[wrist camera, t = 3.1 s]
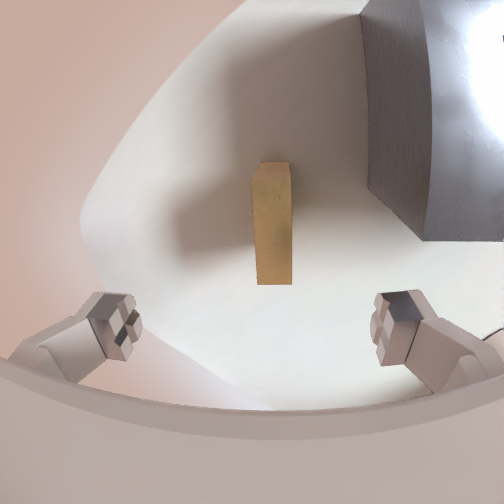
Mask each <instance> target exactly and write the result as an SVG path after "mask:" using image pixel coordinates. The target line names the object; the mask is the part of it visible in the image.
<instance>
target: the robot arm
mask: <svg viewBox="0 0 504 504" xmlns="http://www.w3.org/2000/svg"><path fill="white" fill-rule="evenodd" d="M374 305H375V307H376V309H377V310H376V311H375V312H374V313H373V314H372V317H371V323H370V332H371V338H372V341H373V343H375V344H376V345H377V346H378V347H377V350H376V353H377V356H378V359H379V362H380V365H381V366H390V365H400V364H405V366H406V367H407V368H408V369H409V370H410V371H411V372H412V373H413V374H415V375H416V376H417V377H418V378H419V379H420V380H421V381H422V382H423V383H424V384H425V385H426V386H427V387H428V388H430V389H431V390H432V391H433V392H434V393H433V394H431V395H426V396H422V397H417V398H412V399H406V400H400V401H394V402H388V403H381V404H374V405H366V406H357V407H347V408H335V409H320V410H295V411H258V410H234V409H219V408H207V407H196V406H188V405H180V404H172V403H165V402H159V401H153V400H147V399H141V398H135V397H130V396H126V395H121V394H116V393H112V392H107V391H103V390H99V389H95V388H91V387H87V386H84V385H80V384H77V383H78V382H79V381H81V380H82V379H83V378H84V377H86V376H87V375H88V374H89V373H91V372H92V371H93V370H95V369H96V368H97V367H98V366H99V365H101V364H102V363H103V362H105V361H106V360H107V359H112V360H120V361H127V360H128V358H129V356H130V354H131V352H132V350H133V349H134V348H133V345H132V343H134V342H136V341H137V340H138V339H139V337H140V335H141V331H142V320H141V317H140V314H139V313H138V312H137V311H136V310H135V307H136V302H135V299H134V296H132V295H131V294H124V293H110V292H108V293H107V292H95V293H93V295H92V296H91V297H90V298H89V299H88V300H87V301H86V302H85V304H84V305H83V306H82V307H81V309H79V311H78V312H77V313H76V314H75V315H74V316H70V317H68V318H66V319H64V320H62V321H60V322H58V323H56V324H54V325H53V326H50V327H48V328H46V329H45V330H43V331H41V332H39V333H37V334H35V335H33V336H31V337H29V338H27V339H25V340H23V341H22V342H21V344H20V345H19V346H18V347H17V349H16V350H15V351H14V352H13V353H12V355H11V356H10V357H9V358H8V360H7V359H5V358H2V357H0V504H504V329H503V330H501V331H499V332H497V333H495V334H494V335H492V336H490V337H489V338H488V339H486V340H485V341H482V340H481V339H479V338H477V337H475V336H474V335H472V334H470V333H469V332H467V331H465V330H463V329H462V328H460V327H458V326H456V325H455V324H453V323H451V322H449V321H448V320H446V319H444V318H438V316H437V315H436V313H435V312H434V310H433V308H432V307H431V305H430V304H429V302H428V301H427V299H426V298H425V296H424V295H423V293H422V292H421V291H420V290H418V289H417V290H407V291H399V292H387V293H377V295H376V297H375V302H374Z"/></svg>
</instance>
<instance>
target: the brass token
mask: <svg viewBox="0 0 504 504" xmlns="http://www.w3.org/2000/svg"><path fill="white" fill-rule="evenodd" d="M251 190H252V206H253V222H254V237H255V253H256V269H257V285H292V202H291V176H290V168H289V161H285V162H261V163H260V165H259V167H258V169H257V171H256V173H255V175H254V177H253V179H252V181H251Z"/></svg>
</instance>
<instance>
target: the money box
mask: <svg viewBox="0 0 504 504" xmlns="http://www.w3.org/2000/svg"><path fill="white" fill-rule="evenodd" d="M360 19H361V27H362V34H363V43H364V52H365V63H366V76H367V92H368V119H369V164H368V189H369V190H370V191H371V192H372V193H373V194H374V195H375V196H377V197H378V198H379V199H380V200H381V201H382V202H383V203H384V204H385V205H386V206H387V207H388V208H389V209H390V210H392V211H393V212H394V213H395V214H396V215H397V216H398V217H399V218H400V219H401V220H402V221H403V222H404V223H405V224H406V225H407V226H408V227H409V228H410V229H411V230H412V231H413V232H414V233H415V234H416V235H417V236H418V237H419V238H420V239H421V240H422V241H492V242H504V0H370V1H369V2H368V3H367V5H366V6H365V7H364V8H363V10H362V11H361V12H360Z"/></svg>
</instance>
